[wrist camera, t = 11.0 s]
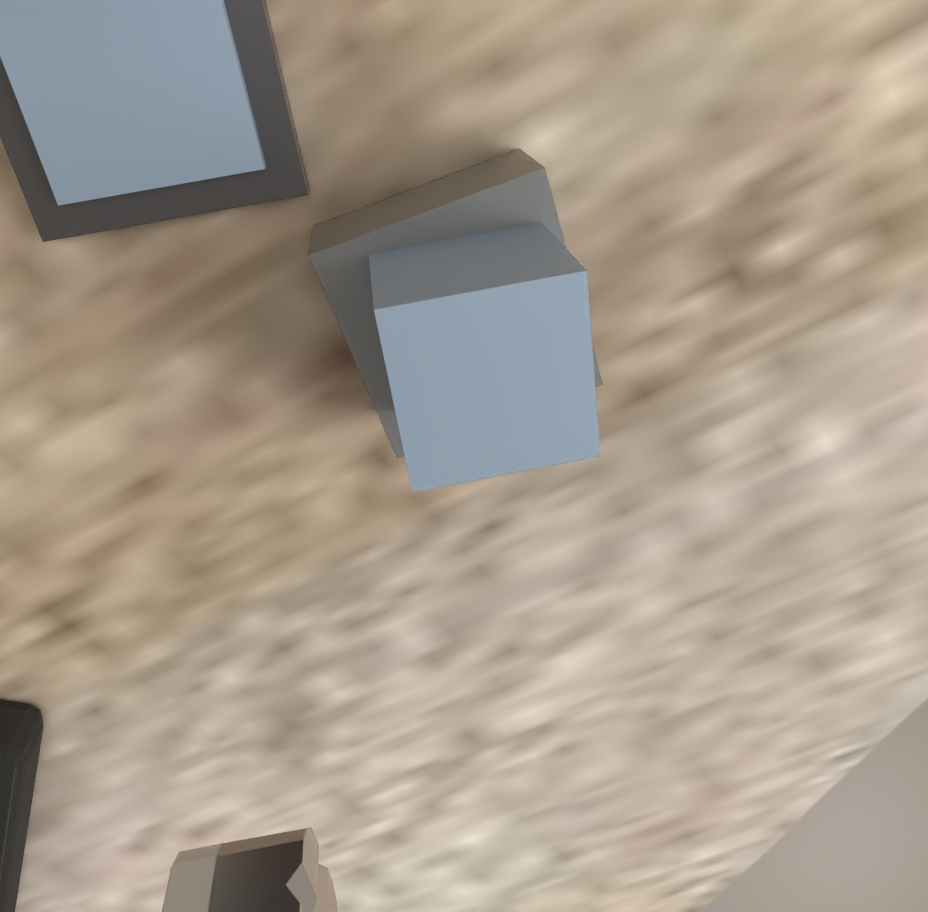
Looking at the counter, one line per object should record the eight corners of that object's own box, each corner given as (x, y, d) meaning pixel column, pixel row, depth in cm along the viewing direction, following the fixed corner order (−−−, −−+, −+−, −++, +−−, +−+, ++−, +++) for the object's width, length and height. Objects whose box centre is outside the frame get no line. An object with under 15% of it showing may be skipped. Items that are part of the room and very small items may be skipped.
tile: (236, -121, 21) (229, -129, 20) (309, 188, 25) (307, 198, 24) (-68, -71, 21) (-95, -77, 20) (53, 234, 25) (37, 246, 24)
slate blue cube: (541, 222, 23) (586, 270, 19) (556, 380, 26) (600, 456, 21) (368, 253, 23) (373, 309, 19) (401, 410, 25) (412, 492, 21)
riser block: (517, 147, 26) (544, 167, 22) (572, 340, 29) (602, 384, 26) (313, 223, 26) (308, 255, 23) (390, 406, 30) (396, 458, 26)
